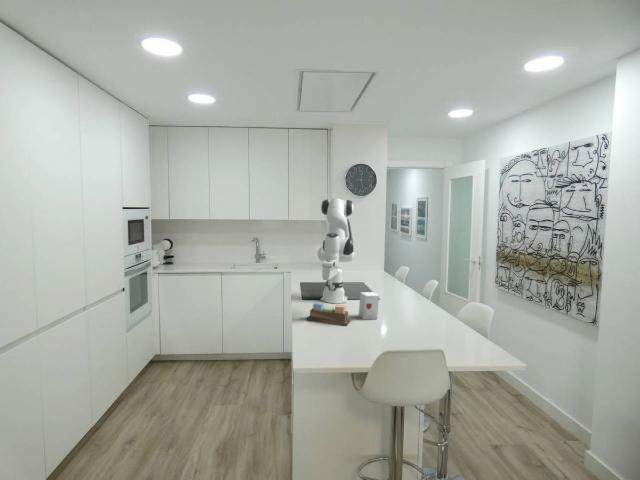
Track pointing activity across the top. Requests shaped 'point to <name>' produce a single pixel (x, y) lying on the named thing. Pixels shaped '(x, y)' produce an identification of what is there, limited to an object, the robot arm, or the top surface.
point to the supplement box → (368, 305)
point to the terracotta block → (340, 309)
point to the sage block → (329, 309)
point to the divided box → (329, 317)
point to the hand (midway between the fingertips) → (329, 284)
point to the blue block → (318, 306)
